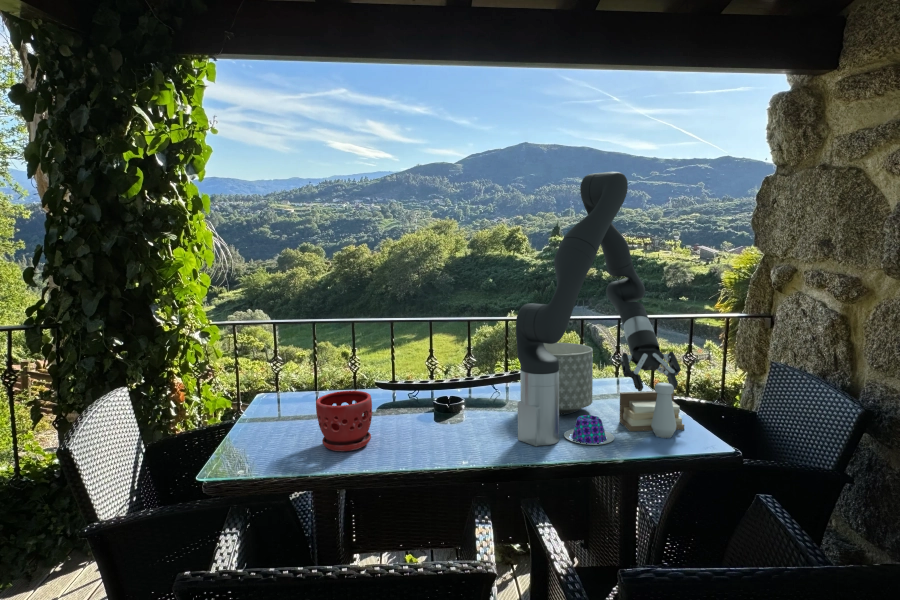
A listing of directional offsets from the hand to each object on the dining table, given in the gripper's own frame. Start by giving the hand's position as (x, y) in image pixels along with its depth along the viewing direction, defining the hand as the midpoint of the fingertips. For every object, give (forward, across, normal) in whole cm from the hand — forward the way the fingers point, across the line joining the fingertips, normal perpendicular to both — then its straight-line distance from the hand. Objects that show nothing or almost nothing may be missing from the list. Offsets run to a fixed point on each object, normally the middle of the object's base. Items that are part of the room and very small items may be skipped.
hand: (657, 389), depth 139 cm
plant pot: (+10, -78, +5) cm, 79 cm away
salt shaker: (+10, 0, +5) cm, 12 cm away
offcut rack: (+5, 0, +10) cm, 11 cm away
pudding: (+10, -19, +5) cm, 22 cm away
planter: (-6, -21, +22) cm, 30 cm away
